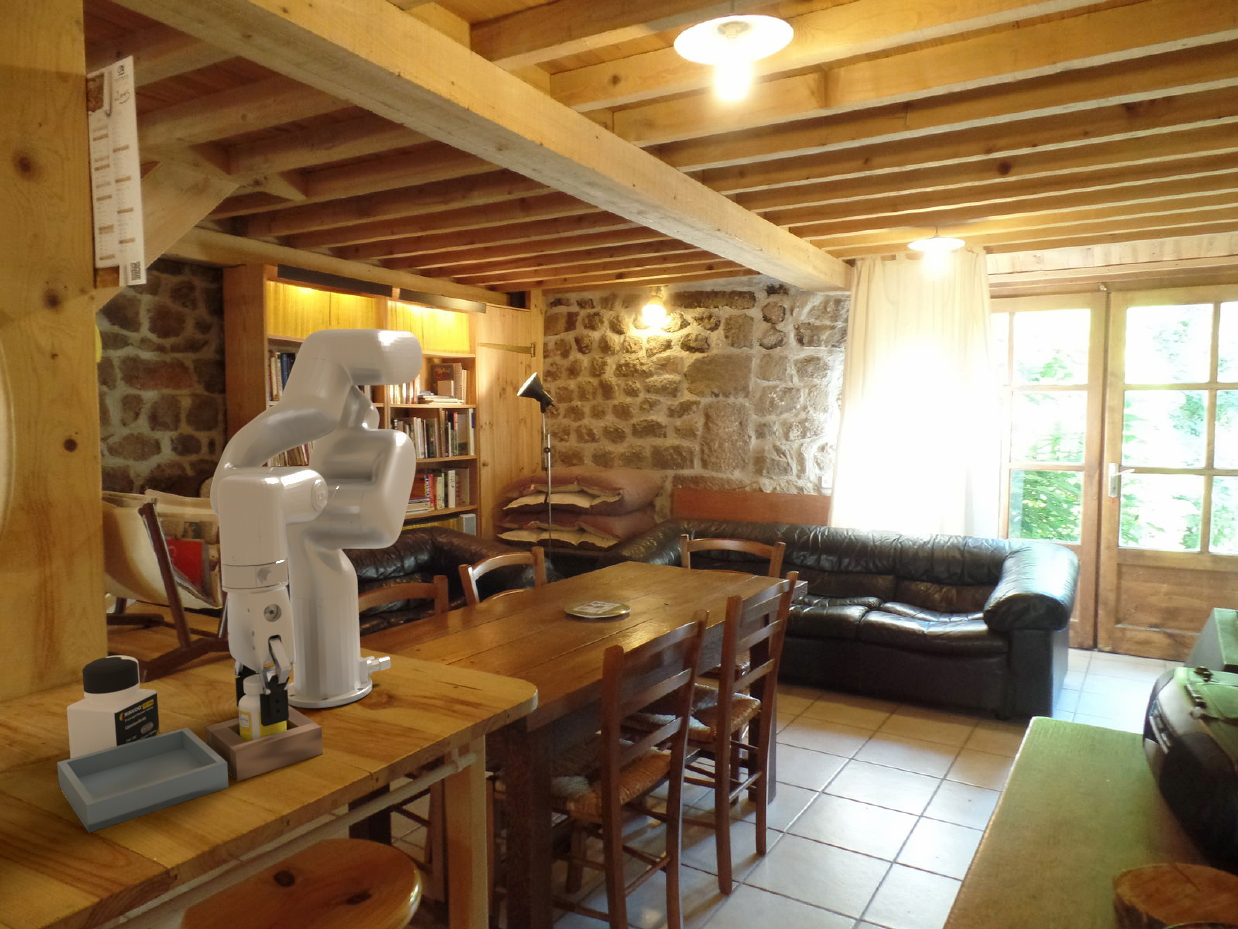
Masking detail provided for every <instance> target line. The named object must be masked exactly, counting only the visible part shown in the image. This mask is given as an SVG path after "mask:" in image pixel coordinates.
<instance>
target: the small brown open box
mask: <svg viewBox="0 0 1238 929" xmlns="http://www.w3.org/2000/svg"><path fill="white" fill-rule="evenodd" d="M288 708H289V718H288V720H286V727H287V730H286V731H283V732H280V733H276V734H273V735H269V736H266V737H263V738H259V739H256V740H253V741H249V742H246V741H245V740H244V739H242V738H241V737H240V724H239V717H237V718H232V719H229V720H226V721H222V722H218V723H214V724H211V725H207V726H205V727H204V731H205V743H206V744H207V745H208V746H209V747H210V748H211V749H212V750H214V751H215V752H216V753H217V754H218V755H219V756H220V757H222V758H223V759H224V760H225V761H226V762H227V770H228V775H230V777H232V778H233V779H235V781H237V782H239V781H243V780H245V779H248V778H252V777H254V776H259V775H261V774H264V773H267V772H270V771H273V770H276V769H280V768H283V767H285V766H289V765H292V764H295V763H299V762H301V761H304V760H308V759H309V758H314V757H317V756H320V755H322V754H323V755H324V753H323V752H324V748H323V732H322V731H323V728H322V725H320V724H318V723H317V722H315V721H313V720H312V719H310V718H309V717H307V716H306V715H305V714H303V713H301V712H300V711H298V710H296V709H295V708H293V706H291V705H290V704H288Z"/></svg>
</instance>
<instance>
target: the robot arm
mask: <svg viewBox="0 0 1238 929" xmlns="http://www.w3.org/2000/svg"><path fill="white" fill-rule="evenodd" d="M422 366H423V350H422V346H421V343H420V342H419V339H418V338H417V337H416V335H415V334H414V333H412V332H411V331H409V330H393V329H383V328H330V329H327V328H326V329H321V330H317V331H313V332H311V333H310V334H308V335H307V336H306V337H305V339H304V340H303V341H302V343H301V345H300V347H299V350H298V352H297V356H296V358H295V360H294V363H293V365H292V368H291V370H290V373H289V376H288V378H287V381H286V383H285V386H284V389H283V391H282V394H281V397H280V399H279V401H278V402H276V403H275V404H273V405H272V406H270V407H269V408H267V409H265V410H264V411H262V412H260V413H259V414H258V415H257V416H256V417H254V418H253V419H252V420H251V421H249V422H248V423H247V424H245V425H244V426H243V427H241V428H240V429H239V430H238V431H237V432H236V433H235V434H234V435H233V436H232V437H231V439H230V440H229V441H228V443H227V444H226V446H225V448H224V450H223V451H222V454H221V457H220V459H219V462H218V464H217V466H216V469H215V472H214V473H213V479H212V482H211V485H210V490H209V491H210V493H209V502H210V506H211V509H212V511H213V513H214V514H215V516H217V518H218V532H219V545H220V546H219V547H220V548H219V549H220V550H219V551H220V567H221V568H220V570H221V587H222V588H221V589H222V591H223V592H226V593H227V640H228V648H229V653H230V655H231V657H232V659H233V660H234V662H235V663H234V668H233V673H234V676H235V679H234V680H235V700H236V707H237V708H238V709H239V701H240V699H241V698H242V697H243V696H245V695H246V693H244V683H243V681H244V679H245V678H247V677H249V676H252V675H256V674H259V678H260V682H261V687H262V691H263V693H262V694H260V713H261V724H262V725H263V726H269V725H273V724H276V723H280V722H283V721H286V720H288V718H289V708H288V705H289V706H291V707H297V708H302V709H304V708H305V709H325V708H333V707H339V706H342V705H347V704H350V703H352V702H355V701H358V700H360V699H362V698H364V697H366V696H367V695H368V694H370V692H371V691H372V689H373V681H372V678H371V677H370V676H372V675H373V673H374V672H378V671H384V670H387V669H390V668H391V666H392V661H391V658H390V656H388V655H386V656H382V657H381V656H380V657H377V658H376V659H375V656H374V655H369V656H366V657H363V656H361V642H360V641H361V640H360V639H361V637H360V619H359V618H360V615H359V614H360V613H359V612H360V610H359V589H358V588H359V587H358V576H357V573H356V570H355V567H354V565H353V563H352V562H351V560H350V559H349V557H348V556H347V554H346V553H345V552H344V551H343V550H344V549H345V550H346V549H355V550H356V549H357V550H358V549H360V550H362V549H366V550H367V549H368V550H369V549H370V550H371V549H373V550H375V549H384V548H389V547H391V546H393V545H394V544H395V543H396V542H397V541H398V539H399V536H400V535H401V532H402V529H403V525H404V521H405V519H406V514H407V510H408V505H409V501H410V497H411V493H412V489H413V485H414V480H415V475H416V468H417V456H416V449H415V445H414V443H413V441H412V439H411V438H410V436H409V435H408V434H407V433H405V432H404V431H401V430H398V429H391V428H379V425H380V424H379V423H380V413H379V411H378V408H377V407H376V405H375V404H374V403H373V401H372V400H371V399H370V398H369V396H368V395H366V394H365V393H364V392H363V391H362V390H361V389H360V388H359V386H396V385H403V384H409V383H411V382H413V381H414V380H416V378H418V376H419V374H420V372H421V369H422ZM311 442H314V444H313V446H312V450H311V453H310V455H309V460H308V467H304V466H303V467H302V466H263V465H265V464H266V463H267V462H268V461H270V460H271V459H273V458H275V457H276V456H278V455H280V454H282V453H283V452H284V453H285V452H287V451H290V450H291V449H295V448H298V447H300V446H303V445H307V444H309V443H311ZM288 585H289V591H288V588H287V586H288ZM269 663H273V664H274V665H270V666H266V667H265V666H264V664H269ZM292 666H293V667H292ZM292 669H293V682H290V683H289V680H290V674H291V671H292ZM267 673H274V674H275V675H272V677H271V679H270V681H268V677H267Z"/></svg>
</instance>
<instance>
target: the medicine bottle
mask: <svg viewBox="0 0 1238 929" xmlns="http://www.w3.org/2000/svg"><path fill="white" fill-rule="evenodd" d="M139 667H140V666H139V661H138V659H136V658H135V657H133V656H128V655H122V654H121V655H118V654H117V655H110V656H105V657H101V658H97V659H95V660H93V661H91V662H89V663H87V664H86V665H85V666H84V667H83V668H82V672H81V673H82V684H83V696H84V698H82V699H80V700H78V701H76V702H74V703H71V704H70V705H68V706H67V707H66V714H67V726H68V727H67V728H68V739H69V741H68V742H69V754H70V755H69V756H70V759H71V758H75V757H79V756H82V755H86V754H90V753H94V752H97V751H101V750H105V749H108V748H112V747H116V746H119V745H123V744H127V743H131V742H134V741H138V740H142V739H145V738H149V737H153V736H157V735H160V734H161V733H160V720H159V705H158V704H159V703H158V692H157V690H155V689H148V688H147V689H145V688H140V686H141V685H140V670H139V669H140V668H139Z"/></svg>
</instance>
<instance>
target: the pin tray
mask: <svg viewBox="0 0 1238 929" xmlns="http://www.w3.org/2000/svg"><path fill="white" fill-rule="evenodd" d="M56 767H57V777H58V778H57V779H58V780H57V781H58V788H59V787H60V788H61V790H62V791H63V793H64V794H63V793H62V794H63V796H64V795H65V796H66V797H65V796H64V797H65V799H66V798H67V799H66V800H67V802H68V801H69V802H68V803H69V805H70V804H71V805H70V806H71V809H72V810H73V811H74V813H75V814H76V815H77V817H78V819H79V820H80V822H81V823H82V825H83V826H84V828H85V829H86V831H87V832H88V833H89V834H90V833H92V832H96V831H99V830H102V829H106V828H108V827H111V826H114V825H117V824H120V823H123V822H127V821H129V820H132V819H135V818H139V817H142V816H145V815H148V814H151V813H154V812H157V811H159V810H160V811H161V810H163V809H166V808H169V807H173V806H175V805H178V804H181V803H184V802H185V803H186V802H187V801H191V800H194V799H196V798H199V797H203V796H206V795H208V794H212V793H215V792H218V791H221V790H223V789H227V788H229V773H228V770H227V762H226V761H225V760H224V759H223V758H222V757H220V756H219V755H218V754H217V753H216V752H215V751H214V750H212V749H211V748H210V747H209V746H208V745H207V744H206V742H204V740H202V739H201V738H200V737H199V736H198V735H196V734H195V732H193V731H192V730H191V729H190V728H188V727H187V726H186V727H184V728H179V729H175V730H172V731H168V732H164V733H160V735H157V736H153V737H149V738H145V739H142V740H138V741H134V742H131V743H127V744H123V745H119V746H116V747H112V748H108V749H105V750H101V751H97V752H94V753H90V754H86V755H82V756H79V757H75V758H71V757H70V758H69V759H64V760H61V761H57V762H56ZM60 788H59V789H60ZM61 790H60V791H61ZM62 791H61V792H62Z"/></svg>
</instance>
